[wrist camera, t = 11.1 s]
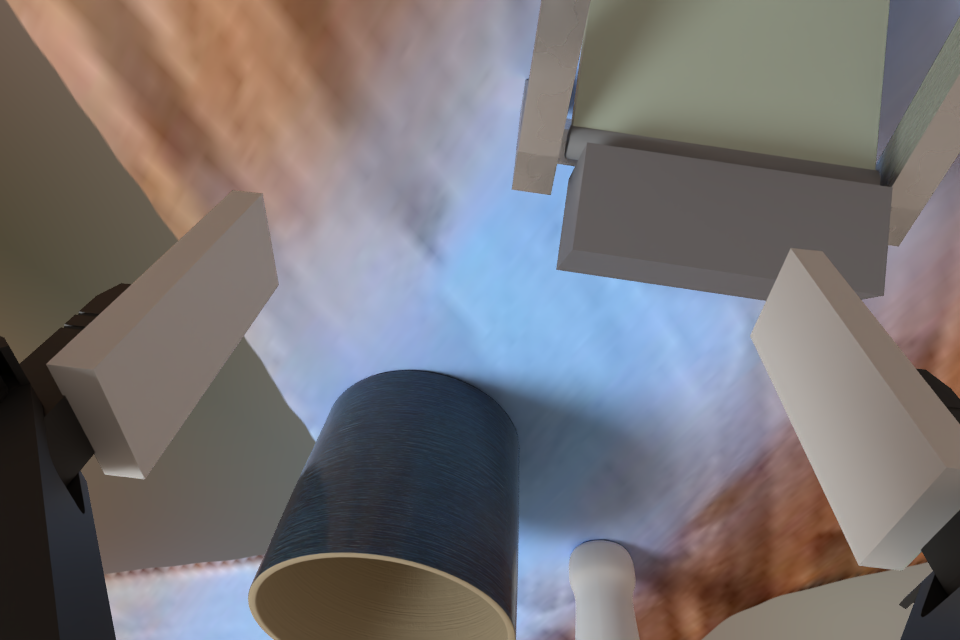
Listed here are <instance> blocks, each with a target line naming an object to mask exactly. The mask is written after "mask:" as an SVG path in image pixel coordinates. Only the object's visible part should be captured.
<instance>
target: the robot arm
mask: <svg viewBox="0 0 960 640" xmlns="http://www.w3.org/2000/svg"><path fill="white" fill-rule="evenodd" d="M278 285H279V283H278V277H277V272H276V266H275V260H274V255H273V249H272V244H271V238H270V232H269V227H268V221H267V216H266V210H265V204H264V199H263V193H254V192H244V191H235V190H232V191H231V192H230V193H229V194H228V195H227V196H226V197H225V198H224V199H223V200H222V201H221V202H220V203H219V204H217V205H216V206H215V207H214V208H213V209H212V210H211V211H210V212H209V213H208V214H207V215H206V216H205V217H203V218H202V219H201V220H200V221H199V222H198V223H197V224H196V225H195V226H194V227H193V228H192V229H191V230H190V231H188V232H187V233H186V234H185V235H184V236H183V237H182V238H181V239H180V240H179V241H178V242H177V243H176V244H174V245H173V246H172V247H171V248H170V249H169V250H168V251H167V252H166V253H165V254H164V255H163V256H162V257H161V258H159V259H158V261H156V262H155V263H154V264H153V265H152V266H151V267H150V268H149V269H148V270H147V271H146V272H144V273H143V275H141V276H140V277H139V278H138V279H137V280H136V281H135V282H134V283H133V284H122V283H121V284H119V285H117V286H115V287H113V288H111V289H109V290H107V291H105V292H103V293H101V294H99V295H97V296H96V297H95V298H94V299H92V300H91V301H90V302H89V303H88V304H87V305H86V306H85V307H84V308H82V309H81V310H80V311H79V314H78V315H74V316H73V317H72V318H71V319H70V320H69V321H68V322H66V323H65V326H64V328H60V329H58V331H56V332H55V333H54V334H53V335H52V336H51V337H50V338H48V339H47V340H46V341H45V342H44V343H43V344H42V345H40V346H39V347H38V348H37V349H36V350H35V351H34V352H33V353H32V354H30V355H29V356H28V357H27V358H26V359H25V360H24V361H22V362H21V363H20V364H19V363H18V361H17V359H16V358H15V356H14V354H13V352H12V351H11V349H10V347H9V345H8V344H7V342H6V340H5V338H3V337H1V336H0V640H116V637H115V632H114V627H113V621H112V616H111V610H110V605H109V600H108V594H107V589H106V584H105V578H104V573H103V567H102V562H101V557H100V552H99V546H98V540H97V535H96V530H95V524H94V519H93V514H92V508H91V503H90V497H89V492H88V487H87V482H86V480H85V478H84V476H83V475H82V473H81V471H80V470H81V469H82V468H83V466H84V465H85V464H86V463H87V462H88V460H89V459H90V458H91V457H92V456H93V454H94V455H95V457H96V459H97V461H98V463H99V464H100V466H101V468H102V470H103V472H104V474H106V475H115V476H123V477H131V478H139V479H145V478H146V477H147V475H148V474H149V472H150V471H151V469H152V468H153V466H154V465H155V464H156V462H157V461H158V459H159V458H160V456H161V455H162V453H163V452H164V451H165V449H166V448H167V446H168V445H169V443H170V442H171V440H172V439H173V437H174V436H175V434H176V433H177V432H178V430H179V429H180V427H181V426H182V424H183V423H184V422H185V420H186V418H187V417H188V416H189V414H190V413H191V411H192V410H193V408H194V407H195V406H196V404H197V403H198V401H199V400H200V398H201V397H202V395H203V394H204V392H205V391H206V390H207V388H208V387H209V385H210V384H211V382H212V381H213V379H214V378H215V377H216V375H217V374H218V372H219V371H220V369H221V368H222V366H223V365H224V364H225V362H226V361H227V359H228V358H229V356H230V355H231V353H232V352H233V350H234V349H235V348H236V346H237V345H238V343H239V342H240V340H241V339H242V337H243V336H244V335H245V333H246V332H247V330H248V329H249V327H250V326H251V324H252V323H253V322H254V320H255V319H256V317H257V316H258V314H259V313H260V311H261V310H262V308H263V307H264V306H265V304H266V303H267V301H268V300H269V298H270V297H271V295H272V294H273V293H274V291H275V290H276V288H277V287H278ZM750 337H751V339H752V341H753V343H754V345H755V347H756V349H757V351H758V353H759V356H760V358H761V360H762V362H763V364H764V366H765V368H766V370H767V372H768V375H769V377H770V379H771V381H772V383H773V385H774V387H775V389H776V391H777V394H778V396H779V398H780V400H781V402H782V404H783V406H784V408H785V410H786V413H787V415H788V417H789V419H790V421H791V423H792V425H793V427H794V429H795V432H796V434H797V436H798V438H799V440H800V442H801V444H802V446H803V448H804V451H805V453H806V455H807V457H808V459H809V461H810V463H811V465H812V467H813V470H814V472H815V474H816V476H817V478H818V480H819V482H820V484H821V486H822V489H823V491H824V493H825V495H826V497H827V499H828V501H829V503H830V505H831V508H832V510H833V512H834V514H835V516H836V518H837V520H838V522H839V524H840V527H841V529H842V531H843V533H844V535H845V537H846V539H847V541H848V543H849V546H850V548H851V550H852V552H853V554H854V556H855V558H856V560H857V562H858V565H859V566H867V567H875V568H884V569H892V570H900V571H903V570H904V569H905V568H906V567H907V566H908V565H909V564H910V563H911V562H912V561H913V560H914V559H915V558H916V557H917V556H918V555H919V554H920V553H921V552H922V553H923V554H924V556H925V558H926V559H927V561H928V563H929V564H930V566H931V568H932V570H933V572H932V573H931V574H930V575H929V576H927V577H926V578H925V579H924V580H923V581H922V582H921V583H920V584H919V585H918V586H917V587H916V588H915V589H914V590H913V591H912V592H911V593H910V594H908V596H906V597H905V598H904V599H903V601H902V602H901V603H900V604H899V605H900V606H902V607H903V608H905V609H906V608H908V607H909V606H910V605H911V604H912V603H914V605H913V608H912V610H911V613H910V616H909V619H908V621H907V624H906V626H905V629H904V632H903V634H902V637H901V640H960V399H959V398H958V397H957V395H956V394H955V393H954V392H953V391H952V389H951V388H949V387H948V386H947V385H945V384H944V383H943V382H941V381H940V380H939V379H937V378H936V377H935V376H933V375H932V374H931V373H929V372H928V371H927V370H923V369H916V368H915V367H914V366H913V365H912V363H911V362H910V361H909V360H908V358H907V357H906V356H905V355H904V353H903V352H902V351H901V349H900V348H899V347H898V346H897V344H896V343H895V342H894V341H893V339H892V338H891V337H890V336H889V334H888V333H887V332H886V331H885V329H884V328H883V327H882V326H881V324H880V323H879V322H878V321H877V319H876V318H875V317H874V316H873V314H872V313H871V312H870V310H869V309H868V308H867V307H866V305H865V304H864V303H863V302H862V300H861V299H860V298H859V297H858V295H857V294H856V293H855V292H854V290H853V289H852V288H851V287H850V285H849V284H848V283H847V282H846V280H845V279H844V278H843V276H842V275H841V274H840V273H839V271H838V270H837V269H836V268H835V266H834V265H833V264H832V263H831V261H830V260H829V259H828V258H827V256H826V255H825V254H824V253H823V251H815V250H805V249H796V248H790V251H789V253H788V255H787V257H786V259H785V261H784V264H783V266H782V268H781V270H780V272H779V274H778V277H777V279H776V281H775V283H774V285H773V288H772V290H771V292H770V294H769V296H768V298H767V301H766V303H765V305H764V307H763V309H762V311H761V314H760V316H759V318H758V320H757V322H756V324H755V327H754V329H753V331H752V333H751V335H750Z"/></svg>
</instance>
